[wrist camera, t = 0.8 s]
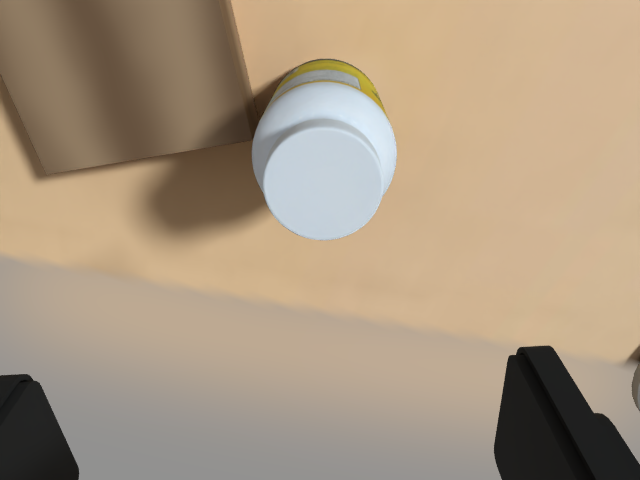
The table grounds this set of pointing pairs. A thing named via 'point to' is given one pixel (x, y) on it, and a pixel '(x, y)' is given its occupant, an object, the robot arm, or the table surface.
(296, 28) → the table surface
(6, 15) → the walnut block
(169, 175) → the table surface
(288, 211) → the pill bottle
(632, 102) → the table surface
